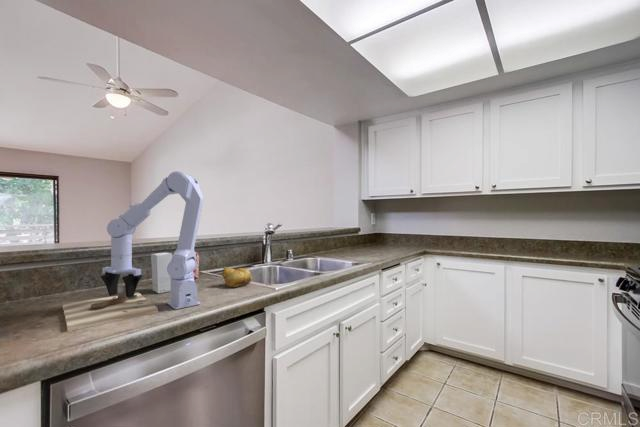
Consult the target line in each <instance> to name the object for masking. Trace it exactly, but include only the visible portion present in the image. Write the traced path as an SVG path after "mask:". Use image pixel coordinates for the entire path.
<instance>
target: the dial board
mask: <svg viewBox="0 0 640 427" xmlns="http://www.w3.org/2000/svg"><path fill="white" fill-rule="evenodd" d="M134 295H137V297H134V298H131V299H128V300H126V301H122V302H118V303H115V304H111V305H108V306H104V307H102V308H99V309H91V304H94V303H100V302H104V301H108V300H112V299H115V298H118V294H116V295H112V296H106V297H104V296H103V297H99V298H93V299H92V298H91V299H88V300H81V301H75V302H69V303H62V312H63V311H64V312H63V316H65V317H64V321H65V326H66V330H67V332H72V331H77V330H80V329H81V330H82V329H85V328H90V327H96V326H101V325H105V324H109V323H114V322H119V321H123V320H129V319H133V318H137V317H142V316H147V315H152V314H156V313H159V308H158V306H156V305H155V304H154V303H152V301H149V300H148V299H147V298H146V297H145V296H143V295H142V294H141V293H140V292H137V291H135V294H134Z"/></svg>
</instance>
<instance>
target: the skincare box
mask: <svg viewBox="0 0 640 427" xmlns="http://www.w3.org/2000/svg"><path fill="white" fill-rule="evenodd" d="M150 256H151V260H150V261H151V262H150V263H151V285H152V286H151V287H152V288H151V289H152V291H153V292H154V293H156V294H161V293H162V294H163V293H169V292H170V293H171V276H169V274H168V272H167V266H168V264H169V263H170V261H171V260H172V256H173V253H171V252H158V253H151V255H150Z"/></svg>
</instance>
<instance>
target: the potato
mask: <svg viewBox="0 0 640 427" xmlns="http://www.w3.org/2000/svg"><path fill="white" fill-rule="evenodd" d="M221 272H222V275H221V276H222V278H223V279H224V283H225V285H226V286H227V287H229V288H237V287H242V286H245V285H248V284H249V283H250V282H251V281H252V280H253V279H252V278H253V277H252V274H251V272H250V270H249V269H247V268H244V267H240V268H236V269H235V268H231V267H227V266H226V267H223V270H222V271H221Z"/></svg>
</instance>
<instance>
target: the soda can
mask: <svg viewBox="0 0 640 427" xmlns="http://www.w3.org/2000/svg"><path fill="white" fill-rule="evenodd" d="M195 253H196V257H195V259H196V263H197V266H196V269H195V270H194V271H193V273H194V281H195V283H196V282H197V281H198V280H199V279H200V278H199V277H200V276H199V275H200V274H199V273H200V271H199V270H200V255H199V254H198V253H199V251H195Z"/></svg>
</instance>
